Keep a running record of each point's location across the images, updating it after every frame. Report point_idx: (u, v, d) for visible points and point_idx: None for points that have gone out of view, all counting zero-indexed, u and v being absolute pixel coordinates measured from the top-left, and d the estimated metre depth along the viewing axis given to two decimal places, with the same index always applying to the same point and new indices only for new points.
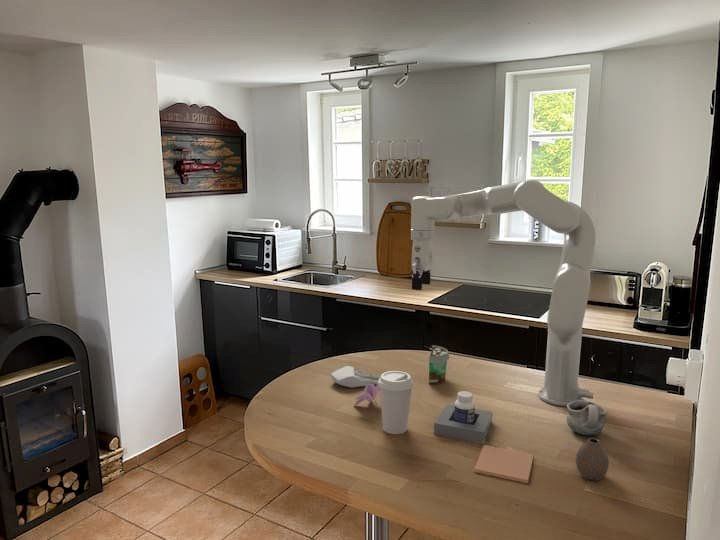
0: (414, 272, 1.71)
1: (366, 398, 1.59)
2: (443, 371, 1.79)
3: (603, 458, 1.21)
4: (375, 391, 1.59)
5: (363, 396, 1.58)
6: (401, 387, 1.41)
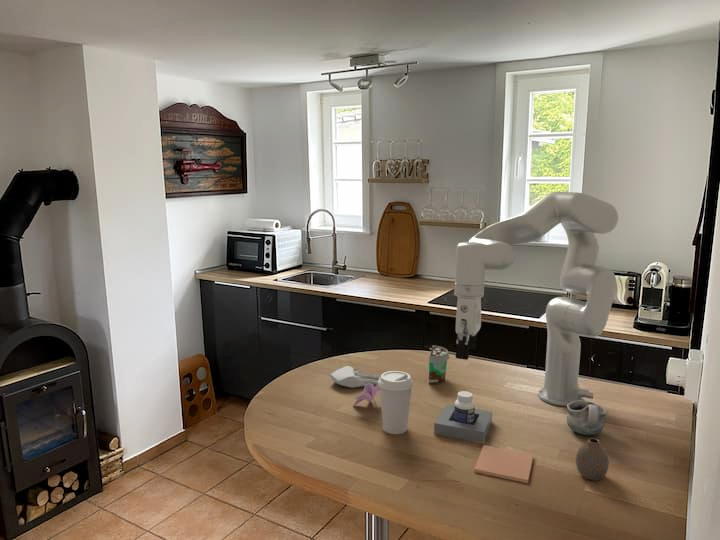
0: (460, 338, 1.36)
1: (365, 398, 1.59)
2: (443, 371, 1.79)
3: (603, 458, 1.21)
4: (374, 391, 1.59)
5: (363, 396, 1.58)
6: (401, 387, 1.41)
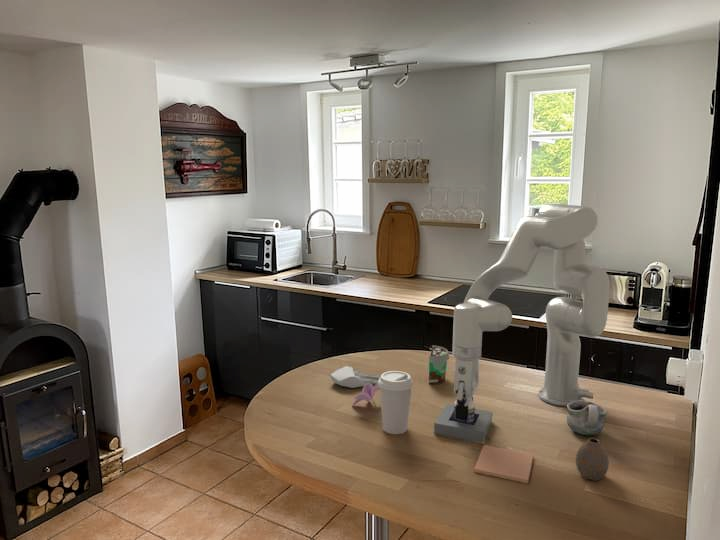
0: (460, 401, 1.41)
1: (364, 398, 1.59)
2: (443, 371, 1.79)
3: (603, 458, 1.21)
4: (373, 391, 1.59)
5: (362, 396, 1.58)
6: (401, 387, 1.41)
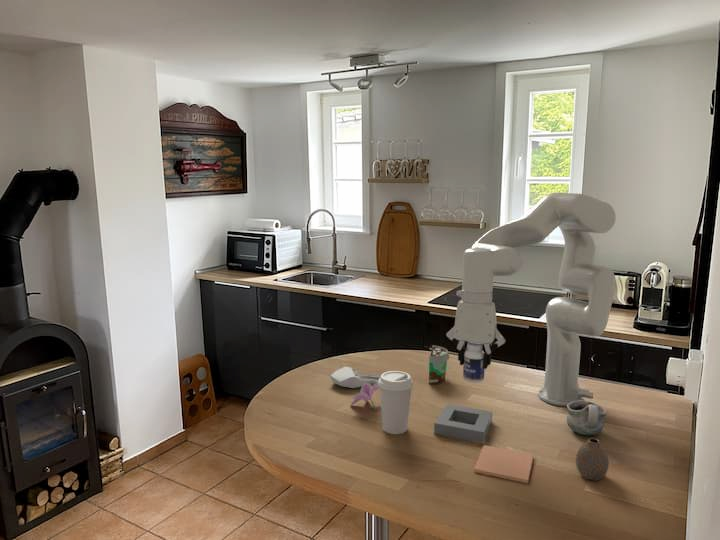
0: None
1: (363, 398, 1.59)
2: (443, 371, 1.79)
3: (603, 458, 1.21)
4: (371, 391, 1.59)
5: (360, 395, 1.58)
6: (401, 387, 1.41)
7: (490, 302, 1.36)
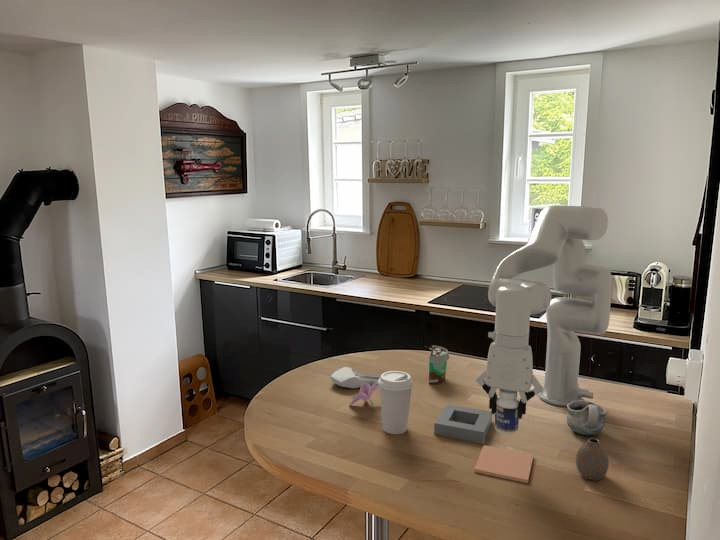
0: None
1: (361, 398, 1.59)
2: (443, 371, 1.79)
3: (603, 458, 1.21)
4: (370, 390, 1.59)
5: (359, 395, 1.58)
6: (401, 387, 1.41)
7: (527, 346, 1.22)
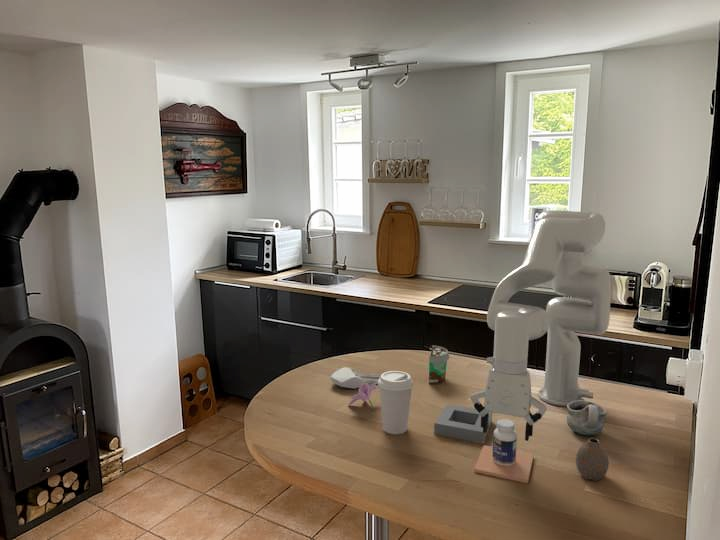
0: None
1: (360, 397, 1.59)
2: (443, 371, 1.79)
3: (603, 458, 1.21)
4: (369, 390, 1.60)
5: (358, 395, 1.58)
6: (401, 387, 1.41)
7: (525, 371, 1.23)
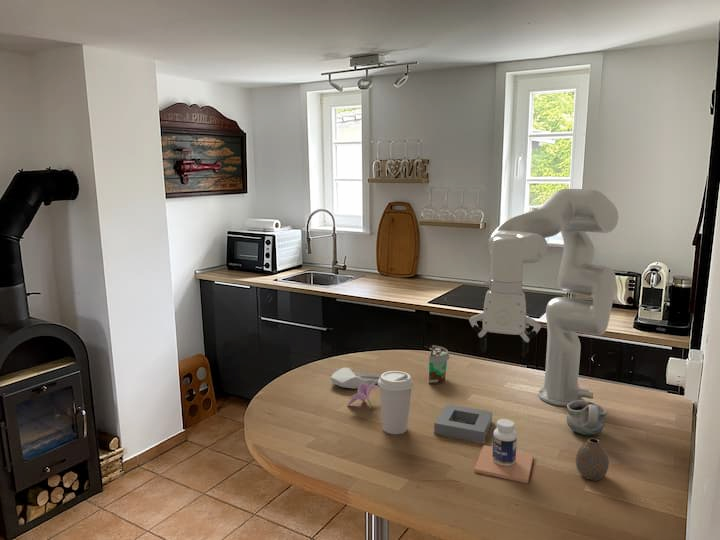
0: None
1: (360, 397, 1.59)
2: (443, 371, 1.79)
3: (603, 458, 1.21)
4: (368, 390, 1.60)
5: (357, 395, 1.58)
6: (401, 387, 1.41)
7: (520, 291, 1.31)
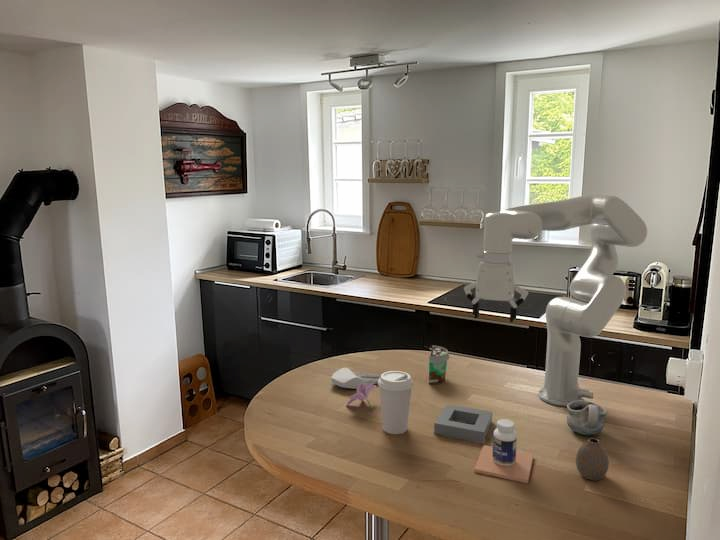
0: None
1: (359, 397, 1.59)
2: (443, 371, 1.79)
3: (603, 458, 1.21)
4: (367, 390, 1.60)
5: (356, 395, 1.58)
6: (401, 387, 1.41)
7: (510, 262, 1.46)
